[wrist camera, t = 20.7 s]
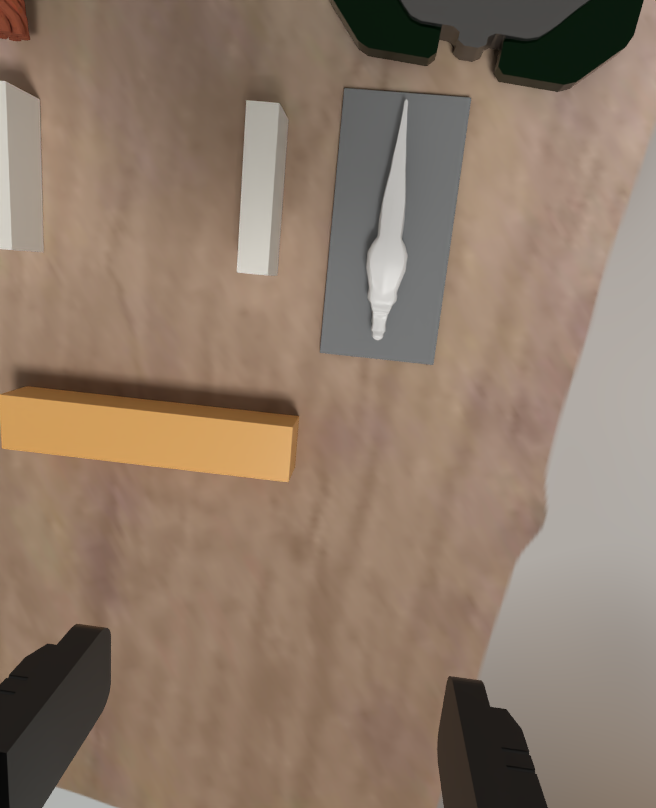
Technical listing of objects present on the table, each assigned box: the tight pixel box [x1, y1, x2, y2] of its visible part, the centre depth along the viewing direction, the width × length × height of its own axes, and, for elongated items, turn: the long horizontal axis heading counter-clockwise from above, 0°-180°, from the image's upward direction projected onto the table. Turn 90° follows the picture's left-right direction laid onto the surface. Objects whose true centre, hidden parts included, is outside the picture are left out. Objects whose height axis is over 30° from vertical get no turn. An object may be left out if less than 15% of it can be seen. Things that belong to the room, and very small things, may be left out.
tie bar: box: [0, 386, 299, 482], centre depth 40 cm, size 21×4×4 cm, turn 85°
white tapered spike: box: [366, 99, 408, 340], centre depth 35 cm, size 15×3×2 cm, turn 174°
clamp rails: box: [0, 81, 289, 276], centre depth 36 cm, size 19×10×4 cm, turn 85°
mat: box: [320, 88, 471, 365], centre depth 36 cm, size 8×17×1 cm, turn 175°
